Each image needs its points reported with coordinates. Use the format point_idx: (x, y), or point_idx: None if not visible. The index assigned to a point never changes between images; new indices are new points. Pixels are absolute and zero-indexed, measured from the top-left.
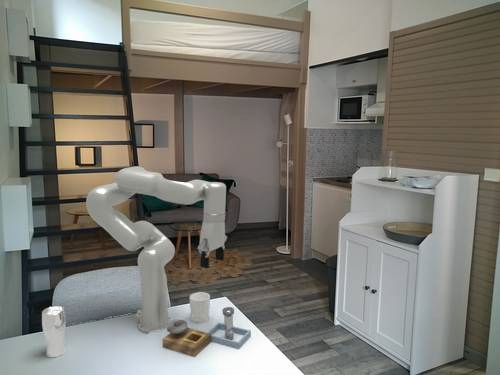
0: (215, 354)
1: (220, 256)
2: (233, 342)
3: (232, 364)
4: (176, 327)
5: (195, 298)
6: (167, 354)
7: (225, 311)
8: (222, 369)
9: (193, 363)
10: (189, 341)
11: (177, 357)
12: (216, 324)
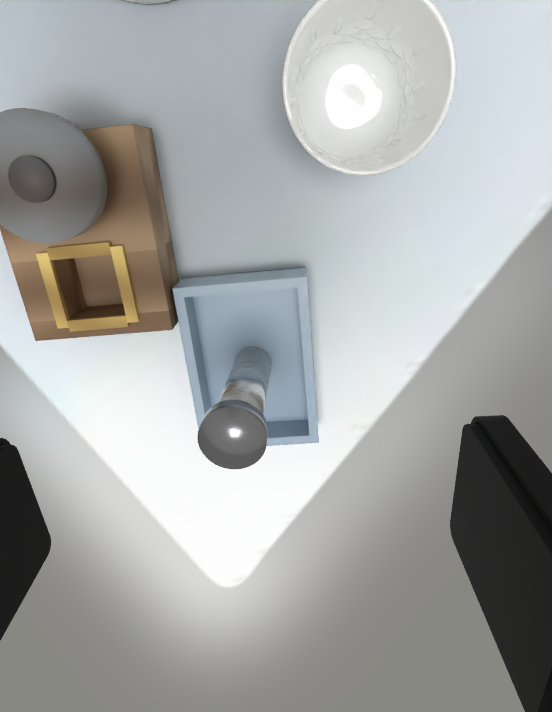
0: (141, 367)
1: (479, 555)
2: (198, 427)
3: (133, 448)
4: (9, 202)
5: (395, 10)
6: None
7: (205, 437)
8: (89, 436)
9: None
10: (47, 292)
11: None
12: (283, 280)
